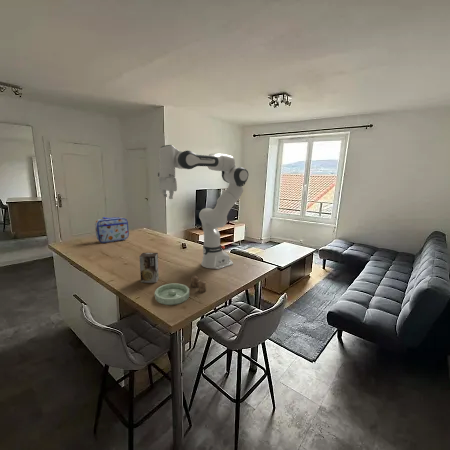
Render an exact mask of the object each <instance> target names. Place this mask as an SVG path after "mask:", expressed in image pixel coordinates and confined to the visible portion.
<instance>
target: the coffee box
mask: <svg viewBox="0 0 450 450" xmlns="http://www.w3.org/2000/svg"><path fill="white" fill-rule="evenodd" d="M139 270H140V271H139V272H140V283H153V284H154V283H157V282H158V280H159V278H160V277H159V275H160V274H159V255H158V252H142V253H141V254H140V255H139Z"/></svg>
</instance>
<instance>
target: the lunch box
mask: <svg viewBox="0 0 450 450" xmlns="http://www.w3.org/2000/svg"><path fill="white" fill-rule="evenodd" d="M94 222H95V224H94V225H95V226H94V227H95V229H94V231H95V236H96V239H97V240H98V242H100V243H102V244H107V243H113V242H114V241H115V242H118V241H119V242H120V241H123V240H126V239H128V238H129V236H130V235H129V234H130V233H129V222H128V220H127V218H124V217H106V216H103V217H102V218H99V219H96V220H95V221H94Z"/></svg>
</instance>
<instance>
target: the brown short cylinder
mask: <svg viewBox="0 0 450 450" xmlns="http://www.w3.org/2000/svg"><path fill="white" fill-rule="evenodd" d="M197 289H198V290H197V291H198V292H199V293H206V291H207V281H206V280H198V287H197Z"/></svg>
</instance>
